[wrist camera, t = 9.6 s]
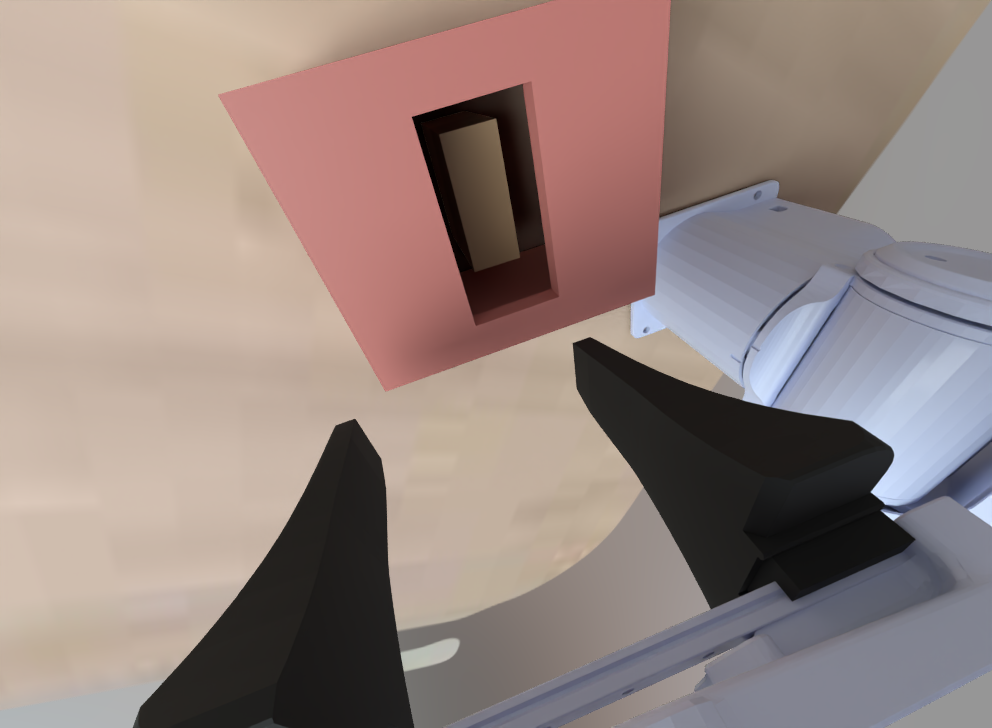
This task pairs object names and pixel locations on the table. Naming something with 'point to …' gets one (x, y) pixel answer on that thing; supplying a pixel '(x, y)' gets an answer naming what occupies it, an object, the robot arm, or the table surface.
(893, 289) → the robot arm
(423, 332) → the money box
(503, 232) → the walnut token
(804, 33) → the table surface
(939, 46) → the table surface
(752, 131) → the table surface
